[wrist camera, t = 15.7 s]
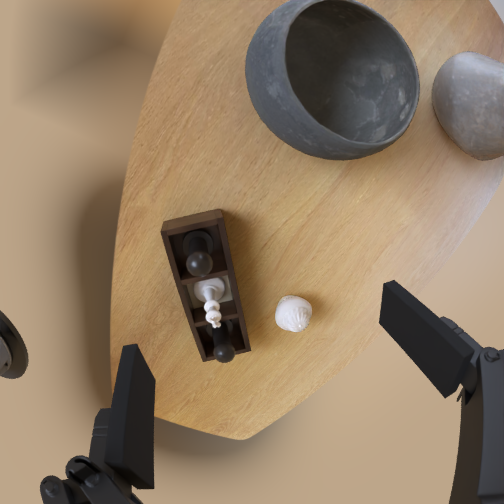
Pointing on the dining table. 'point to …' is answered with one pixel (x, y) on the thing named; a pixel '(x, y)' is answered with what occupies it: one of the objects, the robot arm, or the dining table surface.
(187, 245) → the ebony piece
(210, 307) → the chess piece
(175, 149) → the dining table surface
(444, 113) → the vase
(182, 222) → the rack
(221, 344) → the ebony piece
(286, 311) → the muffin
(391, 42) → the bowl
